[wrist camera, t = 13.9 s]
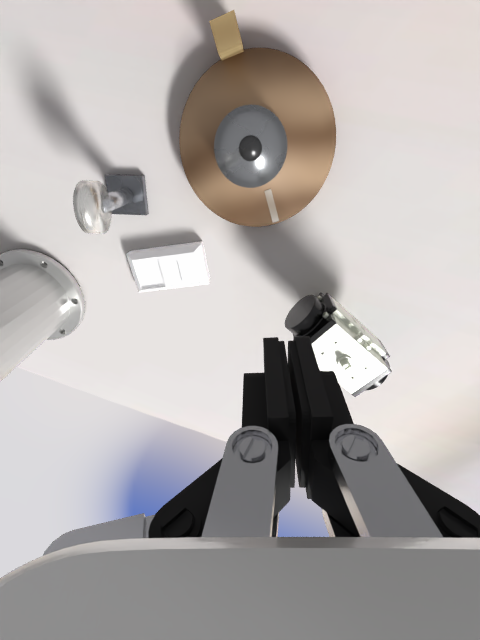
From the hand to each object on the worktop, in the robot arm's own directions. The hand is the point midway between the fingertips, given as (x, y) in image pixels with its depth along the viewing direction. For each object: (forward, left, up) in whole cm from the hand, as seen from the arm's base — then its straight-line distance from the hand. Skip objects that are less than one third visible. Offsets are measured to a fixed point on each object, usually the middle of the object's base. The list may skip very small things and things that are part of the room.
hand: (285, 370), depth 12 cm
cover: (-2, +7, -26) cm, 26 cm away
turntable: (-2, +8, -27) cm, 28 cm away
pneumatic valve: (+8, -11, -28) cm, 31 cm away
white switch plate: (-12, -6, -28) cm, 31 cm away
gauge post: (-16, +2, -28) cm, 32 cm away
